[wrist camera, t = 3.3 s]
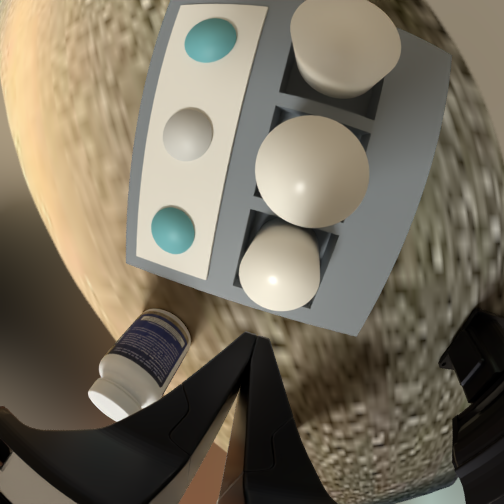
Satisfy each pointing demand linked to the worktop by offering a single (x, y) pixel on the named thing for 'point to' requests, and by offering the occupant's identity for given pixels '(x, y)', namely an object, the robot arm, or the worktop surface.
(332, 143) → the button
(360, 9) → the button
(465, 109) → the worktop surface
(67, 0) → the worktop surface
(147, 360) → the pill bottle
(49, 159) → the worktop surface
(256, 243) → the button
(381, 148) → the button board
